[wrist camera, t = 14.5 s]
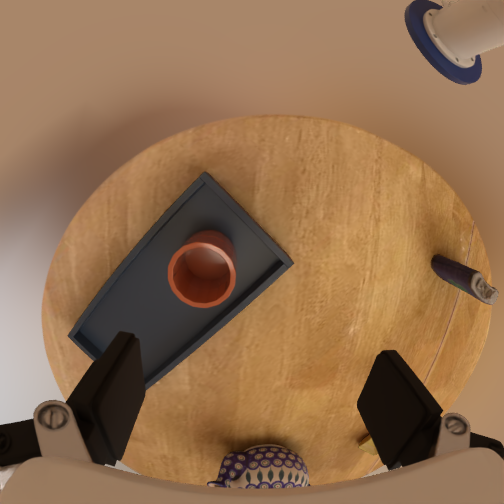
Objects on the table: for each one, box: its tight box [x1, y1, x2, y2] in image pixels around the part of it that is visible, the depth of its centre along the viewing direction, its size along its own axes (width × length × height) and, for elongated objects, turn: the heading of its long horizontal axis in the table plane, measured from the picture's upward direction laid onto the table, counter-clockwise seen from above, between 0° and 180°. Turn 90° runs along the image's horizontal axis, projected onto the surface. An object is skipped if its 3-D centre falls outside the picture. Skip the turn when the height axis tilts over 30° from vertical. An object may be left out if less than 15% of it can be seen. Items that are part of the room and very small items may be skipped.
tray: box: [68, 172, 294, 390], centre depth 32 cm, size 30×14×3 cm, turn 134°
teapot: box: [207, 444, 310, 489], centre depth 35 cm, size 25×15×15 cm, turn 46°
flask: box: [431, 254, 498, 305], centre depth 29 cm, size 9×3×11 cm, turn 64°
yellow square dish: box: [358, 435, 378, 455], centre depth 41 cm, size 9×9×2 cm
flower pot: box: [168, 230, 237, 308], centre depth 28 cm, size 6×6×7 cm
